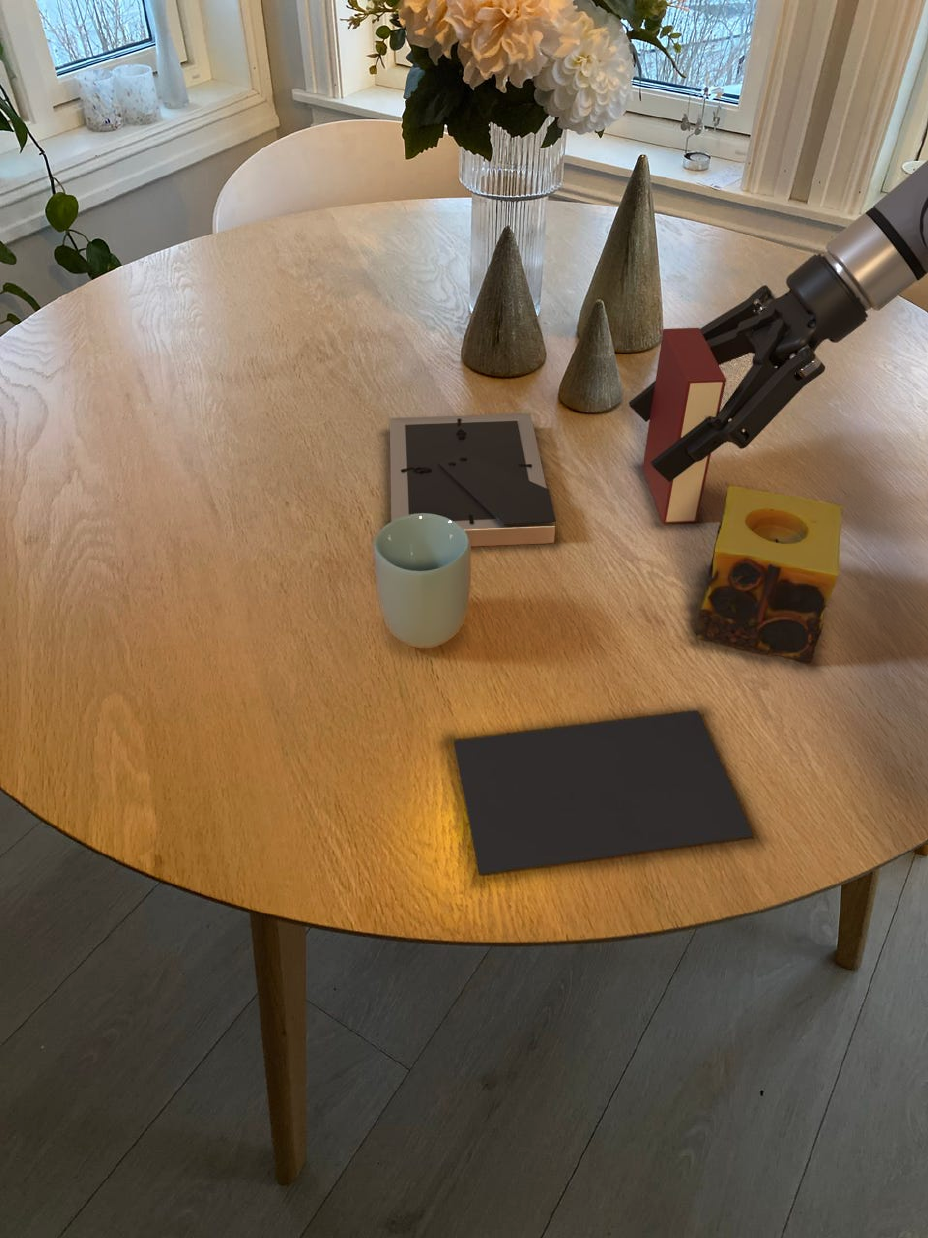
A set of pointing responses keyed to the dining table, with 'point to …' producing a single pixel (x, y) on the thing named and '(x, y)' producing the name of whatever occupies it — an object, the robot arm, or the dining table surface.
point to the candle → (771, 573)
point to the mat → (596, 792)
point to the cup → (423, 578)
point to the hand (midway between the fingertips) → (648, 441)
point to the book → (681, 418)
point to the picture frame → (473, 476)
